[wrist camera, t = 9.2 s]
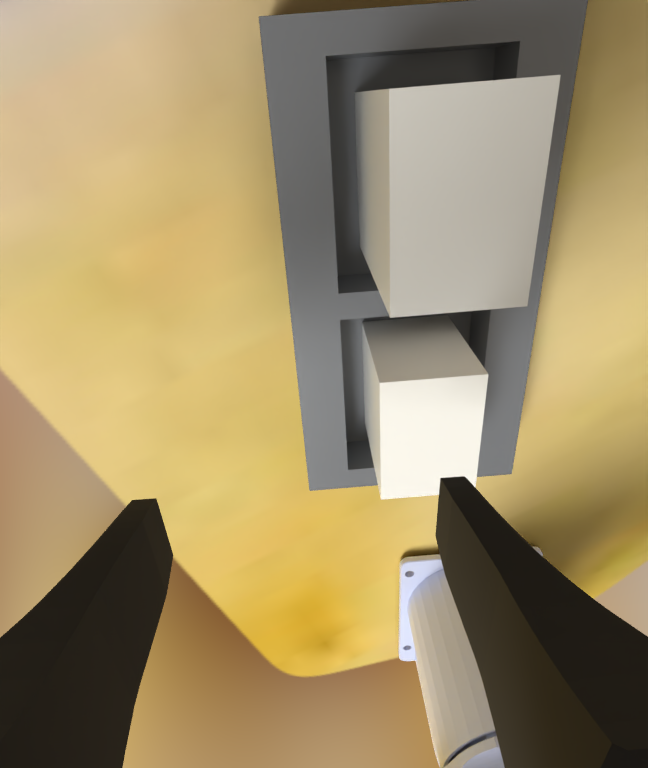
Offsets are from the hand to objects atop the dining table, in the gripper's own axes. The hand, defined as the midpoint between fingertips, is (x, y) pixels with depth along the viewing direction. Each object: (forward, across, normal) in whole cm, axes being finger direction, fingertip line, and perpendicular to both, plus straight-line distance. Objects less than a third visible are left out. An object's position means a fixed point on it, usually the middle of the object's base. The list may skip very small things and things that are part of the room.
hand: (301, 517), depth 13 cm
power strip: (+10, -4, -3) cm, 11 cm away
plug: (+9, -4, -7) cm, 12 cm away
